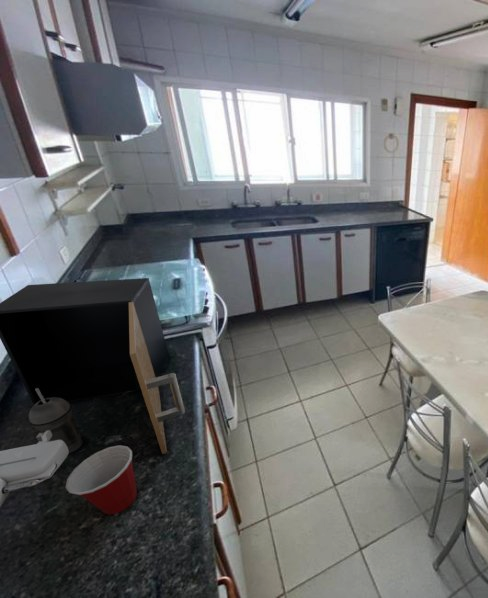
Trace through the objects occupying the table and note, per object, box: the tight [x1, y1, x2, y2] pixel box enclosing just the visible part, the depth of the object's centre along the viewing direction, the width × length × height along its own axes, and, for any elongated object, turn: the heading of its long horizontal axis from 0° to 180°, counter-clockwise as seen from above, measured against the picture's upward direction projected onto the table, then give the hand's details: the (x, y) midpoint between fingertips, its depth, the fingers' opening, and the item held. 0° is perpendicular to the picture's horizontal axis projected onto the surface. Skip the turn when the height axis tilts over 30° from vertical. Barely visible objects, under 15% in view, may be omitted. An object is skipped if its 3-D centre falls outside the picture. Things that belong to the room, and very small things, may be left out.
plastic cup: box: [65, 445, 138, 515], centre depth 70 cm, size 11×11×12 cm
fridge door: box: [129, 302, 186, 455], centre depth 90 cm, size 7×30×31 cm, turn 37°
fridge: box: [0, 277, 170, 406], centre depth 101 cm, size 18×30×32 cm, turn 112°
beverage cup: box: [28, 388, 83, 454], centre depth 80 cm, size 7×7×20 cm
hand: (16, 438), depth 68 cm, fingers open, 8 cm apart
